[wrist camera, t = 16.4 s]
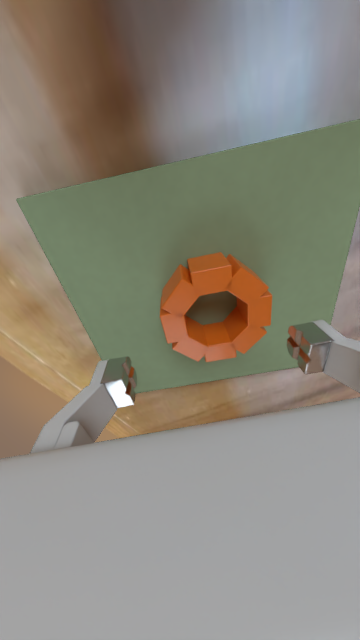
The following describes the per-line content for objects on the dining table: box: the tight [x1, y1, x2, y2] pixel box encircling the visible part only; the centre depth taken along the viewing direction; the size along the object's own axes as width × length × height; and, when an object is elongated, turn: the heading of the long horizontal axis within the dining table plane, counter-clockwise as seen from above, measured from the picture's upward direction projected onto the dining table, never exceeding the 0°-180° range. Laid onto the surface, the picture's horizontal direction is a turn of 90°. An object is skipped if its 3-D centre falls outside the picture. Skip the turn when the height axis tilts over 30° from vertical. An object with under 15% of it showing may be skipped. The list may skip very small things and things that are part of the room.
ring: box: [160, 252, 272, 362], centre depth 13 cm, size 6×6×2 cm
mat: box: [16, 119, 360, 393], centre depth 15 cm, size 18×16×1 cm
